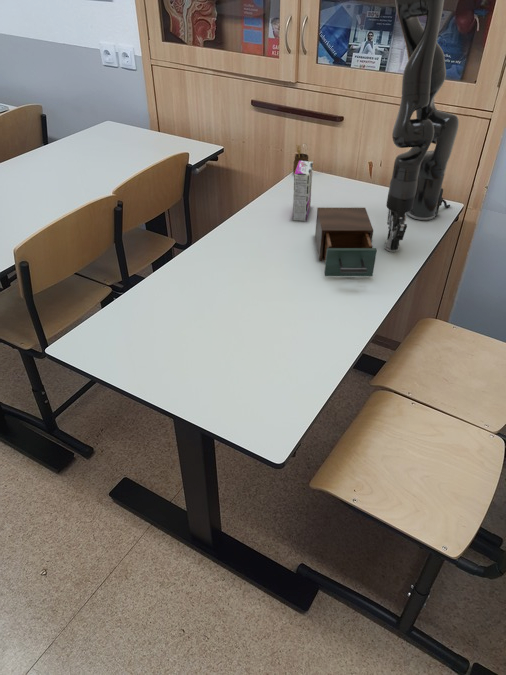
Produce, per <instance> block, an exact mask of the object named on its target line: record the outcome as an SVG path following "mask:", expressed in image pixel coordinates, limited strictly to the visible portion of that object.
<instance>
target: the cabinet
mask: <svg viewBox="0 0 506 675" xmlns="http://www.w3.org/2000/svg"><path fill="white" fill-rule="evenodd" d="M366 208H367V207H317V208H316V219H315V233H314V240H315V244H316V250H317V257H318V261H319V262H325V260H324V255H323V244H324V233H368V234H369V237H370V240H371V243H372V241H373V236H374V228H373V225H372V222H371V220H370V217H369V213H368V211H367V209H366ZM372 244H373V243H372Z"/></svg>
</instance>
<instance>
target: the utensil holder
mask: <svg viewBox="0 0 506 675" xmlns="http://www.w3.org/2000/svg"><path fill="white" fill-rule="evenodd" d="M304 148H305V146H304V144H302V146H301V144H297V145H296V152H297V153H296V154H295V155H294V161H293V167H292V172H293V174H294V173H295V171H296V168H297V165H298V162H299V161H309V155H308V154H307V153H308V151H307V150H308V148H309V145H308V144H306V148H305V150H304ZM303 151H305V153H304V152H303Z"/></svg>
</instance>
